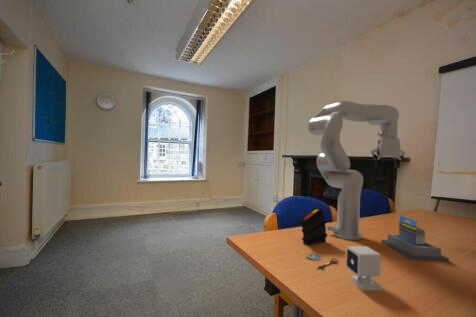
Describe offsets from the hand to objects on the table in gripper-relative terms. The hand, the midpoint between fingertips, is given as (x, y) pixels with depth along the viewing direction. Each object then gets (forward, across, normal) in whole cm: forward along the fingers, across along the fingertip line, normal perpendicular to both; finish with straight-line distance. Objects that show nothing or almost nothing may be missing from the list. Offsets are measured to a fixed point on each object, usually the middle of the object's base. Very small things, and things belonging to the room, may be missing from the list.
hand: (387, 167), depth 117 cm
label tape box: (+32, -6, -27) cm, 43 cm away
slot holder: (+33, -6, -27) cm, 43 cm away
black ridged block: (+34, -45, -24) cm, 61 cm away
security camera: (+34, -40, -55) cm, 76 cm away
